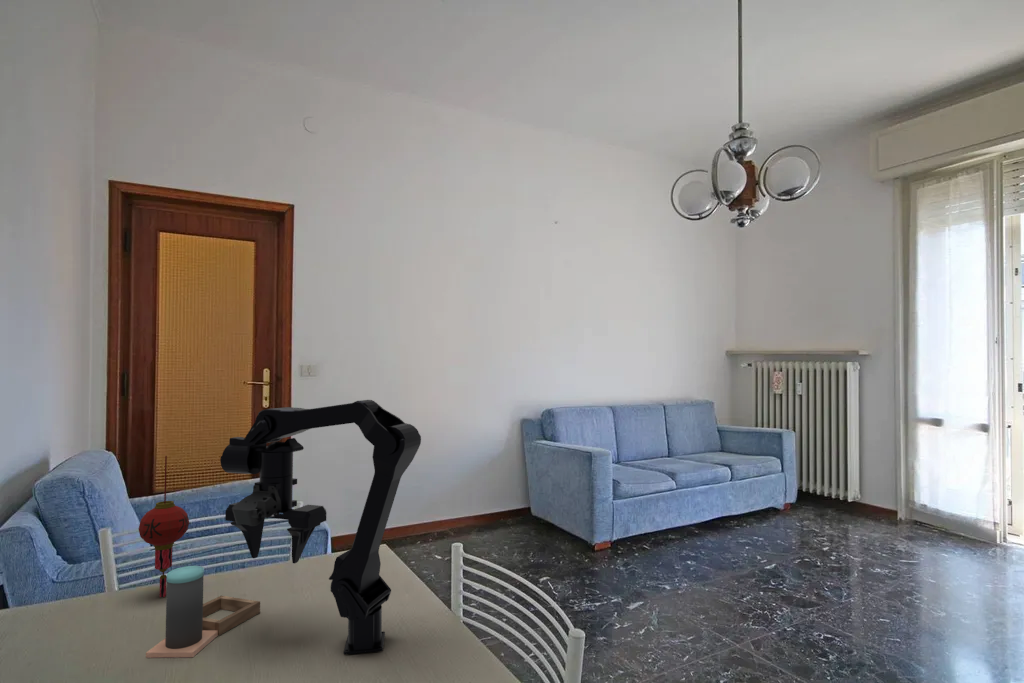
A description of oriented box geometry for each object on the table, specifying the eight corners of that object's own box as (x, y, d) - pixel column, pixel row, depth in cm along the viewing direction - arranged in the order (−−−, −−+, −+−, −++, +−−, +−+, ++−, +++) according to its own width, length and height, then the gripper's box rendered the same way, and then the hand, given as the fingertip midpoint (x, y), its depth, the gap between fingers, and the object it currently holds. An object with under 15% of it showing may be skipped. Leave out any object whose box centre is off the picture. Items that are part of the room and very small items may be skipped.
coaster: (218, 634, 102) (218, 630, 102) (193, 657, 94) (193, 652, 94) (174, 635, 102) (175, 630, 102) (145, 657, 94) (146, 652, 94)
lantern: (197, 587, 124) (200, 452, 126) (170, 605, 115) (173, 459, 116) (155, 588, 124) (158, 452, 126) (125, 605, 115) (129, 459, 117)
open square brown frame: (260, 612, 111) (260, 601, 111) (219, 635, 101) (219, 623, 102) (220, 606, 114) (221, 595, 114) (177, 628, 105) (177, 616, 105)
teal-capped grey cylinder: (201, 644, 97) (203, 574, 97) (163, 651, 94) (165, 579, 95) (202, 630, 102) (204, 563, 102) (166, 637, 99) (168, 569, 100)
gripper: (201, 480, 99) (199, 569, 98) (287, 486, 93) (285, 581, 93) (249, 469, 110) (247, 550, 109) (328, 475, 104) (327, 560, 103)
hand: (274, 560), depth 103 cm, fingers open, 9 cm apart
